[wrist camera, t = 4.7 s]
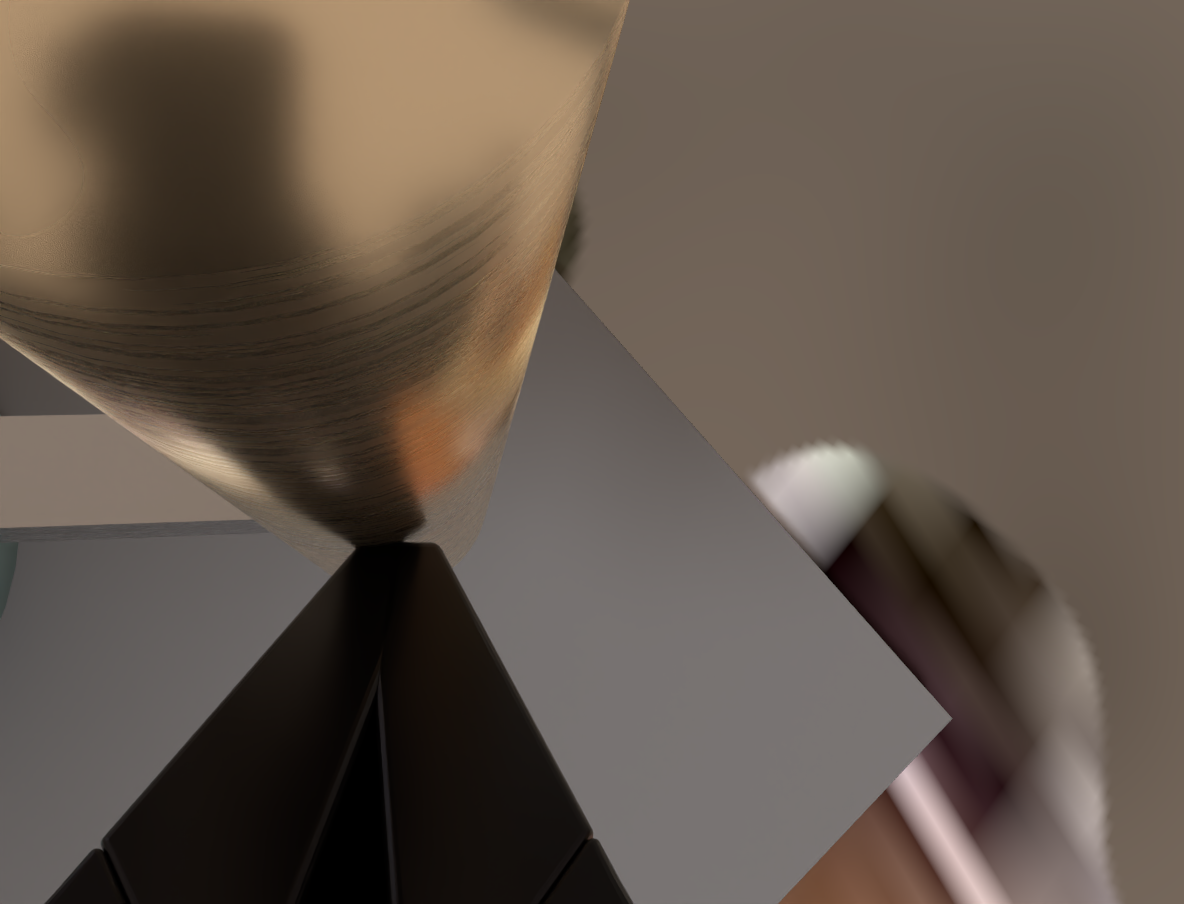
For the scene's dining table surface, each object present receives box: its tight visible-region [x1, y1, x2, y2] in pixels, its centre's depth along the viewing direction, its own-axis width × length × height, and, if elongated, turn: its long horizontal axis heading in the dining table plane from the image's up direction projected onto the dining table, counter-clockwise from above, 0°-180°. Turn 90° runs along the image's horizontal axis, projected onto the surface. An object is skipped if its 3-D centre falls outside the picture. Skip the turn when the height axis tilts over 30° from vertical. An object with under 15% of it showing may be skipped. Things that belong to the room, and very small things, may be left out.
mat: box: [0, 269, 952, 904], centre depth 15 cm, size 19×19×1 cm
